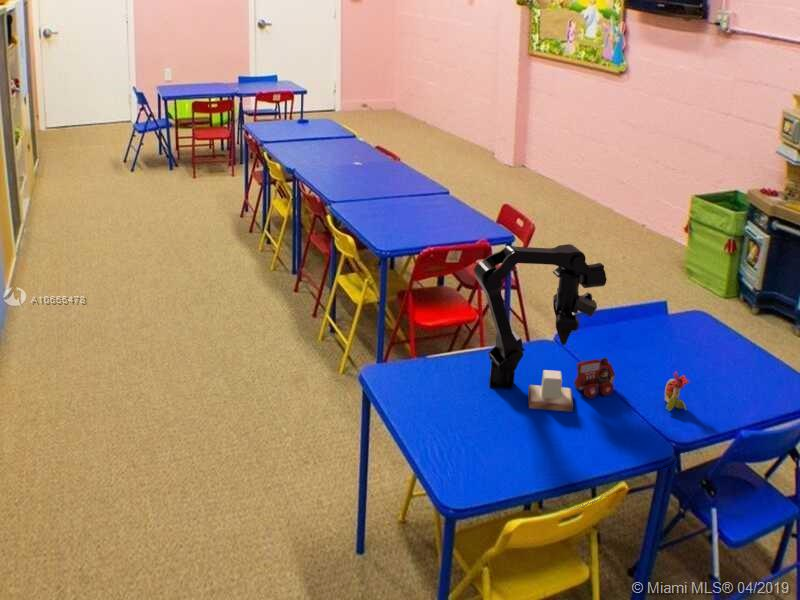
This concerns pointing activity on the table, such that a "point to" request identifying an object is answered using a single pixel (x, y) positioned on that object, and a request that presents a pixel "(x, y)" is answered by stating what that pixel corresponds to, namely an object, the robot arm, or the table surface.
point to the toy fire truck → (595, 377)
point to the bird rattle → (675, 392)
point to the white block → (551, 384)
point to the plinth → (550, 400)
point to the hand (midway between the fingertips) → (562, 337)
